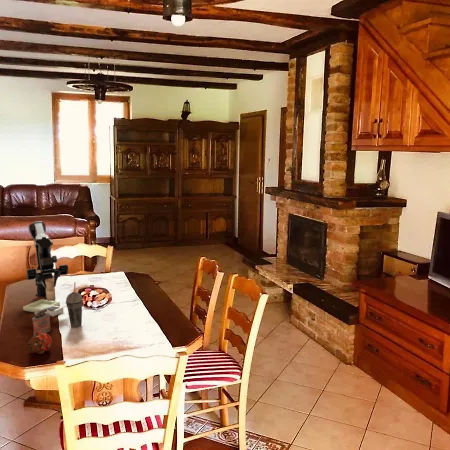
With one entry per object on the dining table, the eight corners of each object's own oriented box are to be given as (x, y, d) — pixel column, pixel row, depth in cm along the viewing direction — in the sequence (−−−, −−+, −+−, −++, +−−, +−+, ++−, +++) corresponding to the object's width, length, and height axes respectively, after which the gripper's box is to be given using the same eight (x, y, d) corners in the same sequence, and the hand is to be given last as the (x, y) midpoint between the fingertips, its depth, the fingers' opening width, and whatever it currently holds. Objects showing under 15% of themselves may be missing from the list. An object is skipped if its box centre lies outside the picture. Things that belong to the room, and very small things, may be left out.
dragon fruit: (40, 362, 184) (39, 354, 195) (57, 346, 187) (56, 339, 198) (24, 347, 182) (24, 340, 193) (42, 330, 184) (41, 324, 196)
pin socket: (52, 310, 237) (52, 305, 237) (63, 312, 235) (63, 307, 234) (42, 314, 231) (41, 309, 231) (53, 316, 228) (52, 311, 228)
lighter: (37, 336, 205) (34, 313, 204) (31, 334, 207) (29, 312, 205) (52, 330, 212) (50, 308, 210) (47, 328, 214) (45, 306, 212)
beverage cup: (64, 327, 214) (60, 284, 211) (76, 322, 221) (72, 279, 217) (76, 330, 211) (72, 286, 208) (88, 324, 217) (85, 281, 214)
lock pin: (51, 297, 235) (49, 277, 233) (57, 298, 233) (55, 278, 232) (44, 300, 231) (43, 280, 230) (51, 301, 230) (49, 281, 228)
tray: (41, 302, 249) (41, 299, 248) (59, 305, 244) (59, 301, 244) (23, 310, 238) (23, 306, 238) (42, 313, 233) (41, 309, 233)
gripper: (25, 252, 228) (29, 281, 220) (66, 248, 236) (71, 275, 228) (25, 265, 236) (29, 293, 228) (64, 260, 244) (70, 287, 236)
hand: (50, 287), depth 230 cm, fingers closed on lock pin, 4 cm apart
